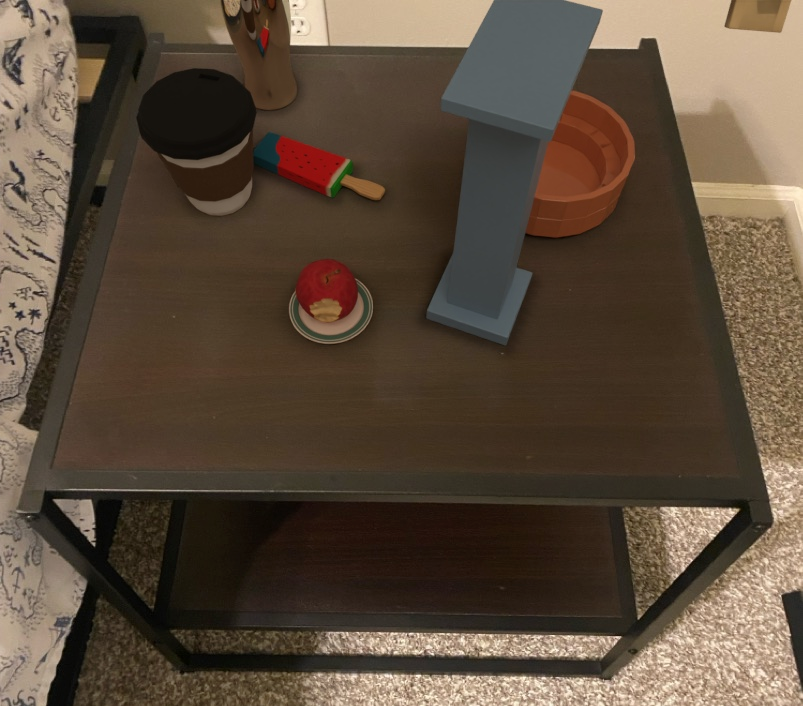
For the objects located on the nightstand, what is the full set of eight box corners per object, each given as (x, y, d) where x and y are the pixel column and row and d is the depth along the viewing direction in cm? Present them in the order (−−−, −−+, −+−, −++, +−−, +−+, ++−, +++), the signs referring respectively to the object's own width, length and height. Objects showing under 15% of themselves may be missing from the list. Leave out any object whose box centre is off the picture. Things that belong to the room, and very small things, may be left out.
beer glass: (310, 79, 84) (295, -45, 71) (287, 119, 81) (267, -4, 68) (255, 67, 85) (231, -58, 72) (231, 105, 82) (201, -18, 69)
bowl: (616, 137, 80) (631, 94, 75) (620, 248, 72) (638, 208, 67) (476, 124, 81) (481, 80, 76) (465, 232, 73) (471, 192, 68)
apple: (389, 317, 68) (389, 277, 62) (320, 361, 65) (313, 324, 60) (341, 263, 71) (337, 220, 65) (273, 303, 69) (262, 262, 63)
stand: (499, 363, 66) (562, 132, 41) (418, 335, 67) (432, 95, 43) (536, 266, 71) (610, 11, 47) (460, 242, 72) (495, -18, 48)
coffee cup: (193, 147, 79) (162, 54, 68) (287, 167, 77) (270, 75, 67) (152, 222, 73) (111, 133, 63) (251, 244, 72) (227, 157, 62)
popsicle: (372, 204, 73) (248, 156, 76) (372, 214, 74) (250, 165, 77) (392, 175, 75) (270, 128, 78) (392, 185, 76) (272, 138, 79)
